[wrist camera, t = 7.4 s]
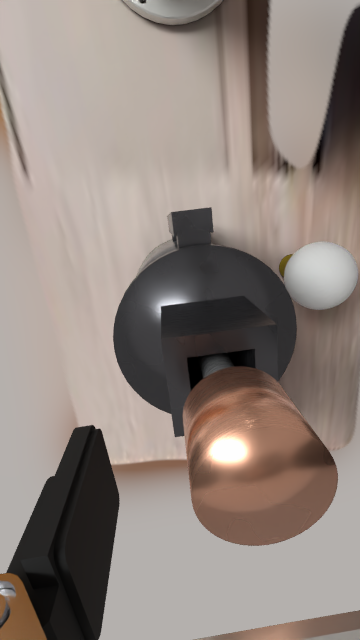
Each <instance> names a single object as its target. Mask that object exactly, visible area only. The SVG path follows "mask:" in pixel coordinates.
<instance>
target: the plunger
mask: <svg viewBox="0 0 360 640" xmlns="http://www.w3.org/2000/svg"><path fill="white" fill-rule="evenodd" d="M198 360H199V364H200V367H201V371H202V375H203V378H204V379H202V380H201V381H200V382H199V383H198V384H197V385H196V386H195V387H194V388H193V389H192V391H191V392H190V394H189V395H188V397H187V399H186V402H185V405H184V409H183V426H184V435H185V444H186V453H187V462H188V471H189V480H190V489H191V498H192V504H193V509H194V511H195V514H196V516H197V518H198V519H199V521H200V522H201V523H202V525H203V526H204V527H205V528H206V529H207V530H208V531H210V532H211V533H212V534H214V535H215V536H217V537H219V538H221V539H223V540H225V541H228V542H232V543H235V544H240V545H249V546H250V545H251V546H252V545H253V546H259V545H269V544H274V543H278V542H281V541H285V540H287V539H290V538H292V537H295V536H296V535H298V534H300V533H302V532H304V531H305V530H307V529H308V528H310V527H311V526H312V525H313V524H314V523H316V522H317V521H318V520H319V519H320V518H321V517H322V516H323V514H324V513H325V512H326V511H327V509H328V508H329V506H330V505H331V503H332V501H333V498H334V496H335V493H336V489H337V483H338V473H337V468H336V465H335V462H334V459H333V457H332V456H331V454H330V452H329V451H328V450H327V448H326V447H325V445H324V444H323V443H322V441H321V440H320V439H319V437H318V436H317V435H316V433H315V432H314V431H313V429H312V428H311V426H310V425H309V424H308V422H307V421H306V420H305V418H304V417H303V416H302V414H301V413H300V411H299V410H298V409H297V407H296V406H295V405H294V403H293V402H292V401H291V399H290V398H289V397H288V395H287V394H286V392H285V391H284V390H283V388H282V387H281V386H280V384H279V383H278V382H277V381H276V380H275V379H274V378H273V377H272V376H270V375H269V374H267V373H265V372H263V371H261V370H258V369H255V368H251V367H241V366H238V367H235V366H234V364H233V362H232V360H231V358H230V357H229V355H228V353H227V352H226V353H218V354H210V355H203V356H198Z"/></svg>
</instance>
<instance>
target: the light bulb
mask: <svg viewBox="0 0 360 640" xmlns="http://www.w3.org/2000/svg"><path fill="white" fill-rule="evenodd" d="M279 271H280V273H281V275H282V276H283V277H284V284H285V287H286V289H287V291H288V293H289V295H290V296H291V298H292V299H293V300H294V301H295V302H297V303H298V304H300V305H301V306H304V307H306V308H309V309H315V310H323V309H329V308H332V307H335V306H337V305H339V304H341V303H342V302H344V301H345V300H346V299H347V298H348V297H349V296H350V295H351V293H352V292H353V290H354V289H355V286H356V284H357V280H358V268H357V264H356V261H355V259H354V258H353V256H352V255H351V254H350V252H349V251H348V250H346V249H345V248H344V247H342V246H340V245H338V244H335V243H331V242H315V243H311V244H308V245H306V246H304V247H302V248H300V249H299V250H298V251H296V252H295V253H294V254H290V255H287V256H286V257H284V258H283V259H282V261H281V262H280V265H279Z"/></svg>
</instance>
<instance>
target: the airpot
mask: <svg viewBox="0 0 360 640" xmlns="http://www.w3.org/2000/svg"><path fill="white" fill-rule="evenodd" d="M167 217H168V225H169V232H170V233H171V234H172V240H169V241H167V242H165V243H163V244H161V245H159V246H158V247H156V248H155V249H154V250H153V251H152V252H151V253H150V254H149V255H148V256H147V257H146V259H145V260H144V262H143V263H142V265H141V267H140V269H139V272H138V274H137V276H136V278H135V279H134V280H133V281H132V283H131V284H130V286H129V287H128V289H127V290H126V292H125V294H124V296H123V298H122V300H121V303H120V305H119V307H118V311H117V314H116V317H115V323H114V334H113V341H114V350H115V354H116V358H117V362H118V364H119V367H120V369H121V371H122V373H123V375H124V377H125V378H126V380H127V382H128V383H129V384H130V386H131V387H132V388H133V389H134V391H135V392H137V393H138V394H139V395H140V396H141V397H142V398H143V399H144V400H146V401H147V402H148V403H150V404H151V405H153V406H155V407H157V408H158V409H160V410H162V411H165V412H167V413H170V414H172V420H173V427H174V434H175V437H179V436H185V435H184V426H183V409H184V405H185V402H186V399H187V397H188V395H189V394H190V392H191V391H192V389H193V388H194V387H195V386H196V385H197V384H198V383H199V382H200V381H201V380H202V379H204V378H203V375H202V371H201V367H200V364H199V360H198V356H203V355H210V354H218V353H226V352H227V353H228V355H229V357H230V358H231V360H232V362H233V364H234V366H235V367H238V366H241V367H251V368H255V369H258V370H261V371H263V372H265V373H267V374H269V375H270V376H272V377H273V378H274V379H275V380H276V381H277V382H278V380H279V379H280V378H281V376H282V375H283V373H284V372H285V370H286V368H287V366H288V364H289V362H290V359H291V356H292V354H293V351H294V346H295V341H296V331H297V325H296V315H295V310H294V306H293V303H292V300H291V297H290V295H289V293H288V291H287V289H286V287H285V286H284V284H283V283H282V281H281V280H280V279H279V277H278V276H277V275H276V274H275V273H274V272H273V271H272V270H271V269H270V268H269V267H268V266H267V265H265V264H264V263H263V262H261V261H260V260H259V259H257V258H255V257H253V256H251V255H249V254H247V253H245V252H242V251H239V250H237V249H234V248H230V247H226V246H221V245H215V244H212V243H211V235H210V232H213V222H212V209H211V208H203V209H194V210H186V211H178V212H171V213H170V214H169V215H168V216H167Z"/></svg>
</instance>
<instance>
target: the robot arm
mask: <svg viewBox="0 0 360 640" xmlns="http://www.w3.org/2000/svg"><path fill="white" fill-rule="evenodd" d="M123 1H124V2H125V3H126V4H127V5H128V6H129V7H130V8H131V9H132V10H134V11H135V12H137V13H138V14H140V15H141V16H142V17H145V18H147V19H149V20H152V21H154V22H156V23H162V24H168V25H177V24H186V23H189V22H193V21H196V20H198V19H200V18H202V17H204V16H205V15H207V14H209V13H210V12H211V11H213V10H214V9H215V8H216V7H217V6H218V5H219V4H220V3H221V2H222V1H223V0H123ZM142 1H145V2H146V3H144V4H142V3H141V2H142ZM118 510H119V493H118V489H117V485H116V481H115V478H114V474H113V471H112V468H111V463H110V460H109V456H108V453H107V449H106V445H105V442H104V438H103V434H102V431H101V429H95V427H94V426H93V425H90V426H84V427H78V428H75V429H74V430H73V433H72V435H71V438H70V440H69V442H68V445H67V447H66V450H65V452H64V454H63V457H62V459H61V462H60V464H59V467H58V469H57V472H56V474H55V476H52V477H50V478H49V479H48V480H47V481H46V484H45V485H44V488H43V490H42V492H41V495H40V497H39V499H38V501H37V504H36V506H35V508H34V511H33V513H32V515H31V517H30V520H29V522H28V524H27V527H26V529H25V531H24V533H23V536H22V538H21V540H20V543H19V545H18V547H17V549H16V552H15V554H14V556H13V559H12V561H11V563H10V566H9V568H8V570H7V573H3V574H0V640H98V639H99V637H100V633H101V628H102V620H103V614H104V607H105V600H106V593H107V586H108V579H109V572H110V565H111V558H112V551H113V544H114V537H115V530H116V523H117V517H118ZM194 640H360V610H359V611H353V612H348V613H342V614H336V615H330V616H325V617H319V618H314V619H307V620H302V621H296V622H290V623H284V624H279V625H273V626H267V627H262V628H256V629H251V630H246V631H239V632H234V633H228V634H223V635H218V636H211V637H206V638H200V639H194Z"/></svg>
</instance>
